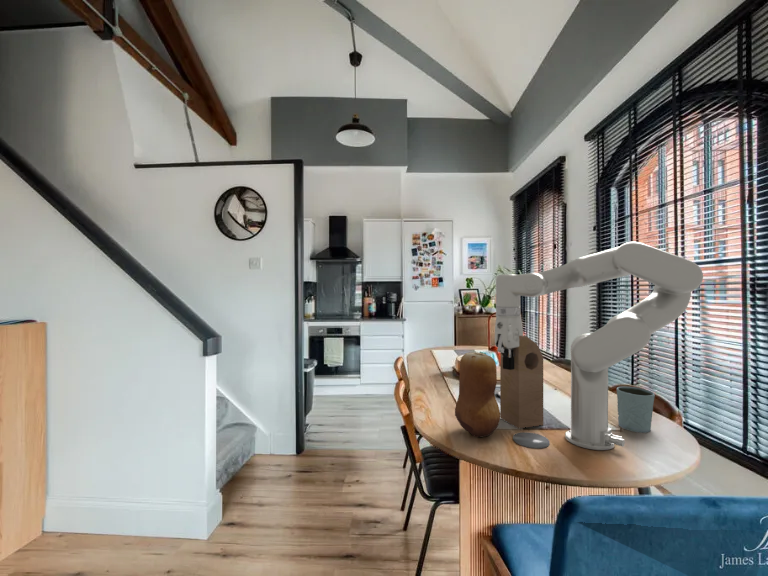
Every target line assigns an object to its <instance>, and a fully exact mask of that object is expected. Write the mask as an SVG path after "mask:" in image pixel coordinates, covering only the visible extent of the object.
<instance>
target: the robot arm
mask: <svg viewBox="0 0 768 576" xmlns="http://www.w3.org/2000/svg"><path fill="white" fill-rule="evenodd" d="M629 275H632V276H634V277H636V278H637V279H638V278H639V279H640V280H644V281H645V282H647V283H651V284H653V285H654V287H653V290H652V292H651V293H650V295H648V296H647V297H646V298H644V299H642V300H641V301H639V302H637V303H636V304H634V305H633V306H631V307H629V308H627V309H626V310H624V311H622V312H620V313H619V314H617V315H614V316H612V317H611V318H610V319H608V321H607V323H606V324H605V325H603V326H602V327H600V328H598V329H596V330H595V331H593V332H591V333H589V332H588V333H581V334H579V335H577V336H576V337H575V338H574V339H573V341H572V342H571V345H570V430H567V431H566V432H565V433H564V434H565V435H564V437H565V439H566V440H567V441H568V442H569V443H570V444H573V445H574V446H577V447H581V448H584V449H588V450H595V451H607V450H608V451H609V450H612V449H614V448H615V445H616V446H619V447H625V443H626V442H625V441H626V440H625V439H624V438H623V436H620V435H616V434H614V433H613V429H612V428H610V427H609V368H611V367H612V366H614V365H616V364H618V363H620V362H622V361H623V360H625V359H627V358H630V357H632V356H633V355H635V354H637V353H638V352H640V351H641V350H643V349H644V348H645V347H646V346H647V345H648V344H649V342H650V340H651V335H652V334H653V335H654V333H656V332H658V331H660V330H661V329H663V328H665V326H667V325H669V324H671V323H673V322H674V321H675V320H677V319H678V318H680V317H681V316H682V315H683V313H685V311H686V310H687V307H688V305H689V304H690V301H691V297H692V296H691V295H692V292H693V291H695V290H696V289H698V288H699V287H700V286H701V284H702V282H703V280H704V272H703V270H702V269H701V267H700V266H699V265H698V264H697V263H695V262H694V261H692V260H689V259H687V258H685V257H681V256H679V255H677V254H673V253H670V252H668V251H665V250H662V249H659V248H656V247H654V246H651V245H648V244H645V243H643V242H639V241H629V242H628V241H627V242H625V243H622V244H620V246H616V247H613V248H609V249H605V250H603V251H599V252H596V253H595V252H594V253H592V254H588V255H584V256H581V257H578V258H575V259H572V260H570V261H569V262H567V263H565V264H562V265H561V266H557V267H554V268H551V269H548V270H543V271H541V272H540V271H539V272H537V273H536V272H528V273H527V272H526V273H521V274H516V273H515V274H514V273H513V274H512V273H509V274H508V273H505V274H498V275H497V276H496V278H495V325H494V346H495V347H496V348H497V352H498V353H500V352H501V354H502V357H503V369H508V370H513V369H514V357H515V351H516V348H517V347H519V336H524V330H523V328H524V327H523V320H522V316H521V313H522V312H521V296H522V297H526V298H527V297H529V298H536V297H541V296H543V295H548V294H552V293H555V292H560V291H564V290H568V289H573V288H583V287H585V286H586V287H587V286H592V285H595V284H599V283H603V282H607V281H610V280H613V279H614V280H615V279H618V278H622V277H627V276H629Z"/></svg>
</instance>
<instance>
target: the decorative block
mask: <svg viewBox="0 0 768 576" xmlns="http://www.w3.org/2000/svg"><path fill="white" fill-rule="evenodd" d="M499 353H500V357H499V358H500V359H499V360H500V361H499V363H500V366H499V368H500V369H499V371H500V375H499V376H500V377H499V378H500V379H499V380H500V381H499V383H500V385H499V386H500V387H499V389H500V394H499V396H500V397H499V398H500V400H499V403H500V406H499V410H500V420H503V421H504V420H505V422H506V421H507V422H506V423H508V424H510V425H511V424H512V425H511V426H513V425H514V426H513V427H515V428H517V429H525V427H526V428H533V426H534V427H539V425H541V426H544V355H543V354H542V351H541V350H540V348H539V345H538V344H537V342H534V340H532V339H531V338H529V337H528V336H527V335H523V336H519V347H517V348H516V351H515V357H514V369H513V370H508V369H503V357H502V354H501V352H499Z"/></svg>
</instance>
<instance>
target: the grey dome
mask: <svg viewBox="0 0 768 576" xmlns="http://www.w3.org/2000/svg"><path fill="white" fill-rule="evenodd" d="M512 440H513V442H514V443H515V444H517V445H519V446H521V447H524V448H525V447H526V448H530V449H546V448H548V447H549V446H550V445H551V444H550V440H549V439H548V438H547V437H546V436H545V435H542V434H540V433H535V432H527V431H523V432H522V431H521V432H516V433H514V434H513V436H512Z"/></svg>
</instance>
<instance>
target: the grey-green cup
mask: <svg viewBox="0 0 768 576" xmlns="http://www.w3.org/2000/svg"><path fill="white" fill-rule="evenodd" d="M655 396H656V395H655V393H654V392H653V391H651V390H648V389H644V388H640V387H634V386H618V387H616V398H617V399H616V402H617V405H616V406H617V415H618V416H617V417H618V426H619V427H620V428H621V429H624V430H627V431H630V432H633V433H634V432H636V433H649V432H651V430H652V421H653V413H654V412H653V410H654V401H655Z"/></svg>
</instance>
